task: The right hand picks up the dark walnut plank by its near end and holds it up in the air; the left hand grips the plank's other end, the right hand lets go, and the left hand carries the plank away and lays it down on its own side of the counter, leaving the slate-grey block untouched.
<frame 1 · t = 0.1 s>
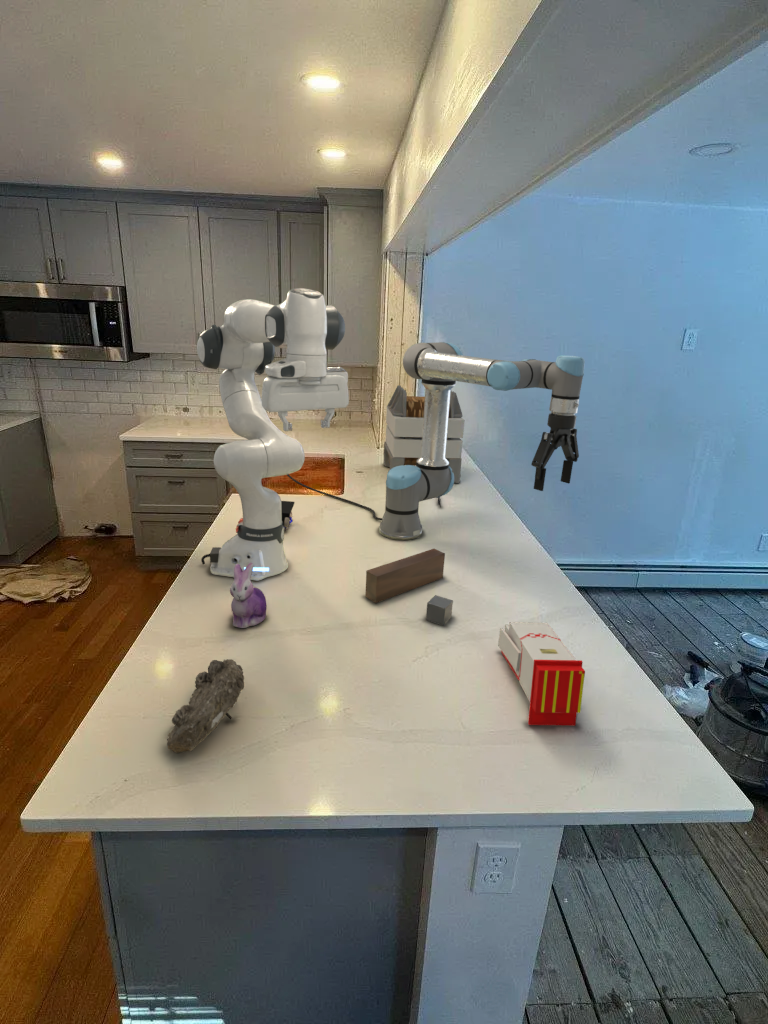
left hand: (306, 429, 130), 48 cm above the counter, fingers open, 8 cm apart
right hand: (552, 486, 166), 28 cm above the counter, fingers open, 13 cm apart
walnut plank: (405, 587, 162), on the counter
fossil: (212, 717, 108), on the counter
slate block: (438, 618, 146), on the counter
figurine character: (283, 526, 202), on the counter
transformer: (419, 473, 275), on the counter
toy: (532, 682, 122), on the counter
figurine: (249, 620, 142), on the counter
feather: (438, 497, 240), on the counter
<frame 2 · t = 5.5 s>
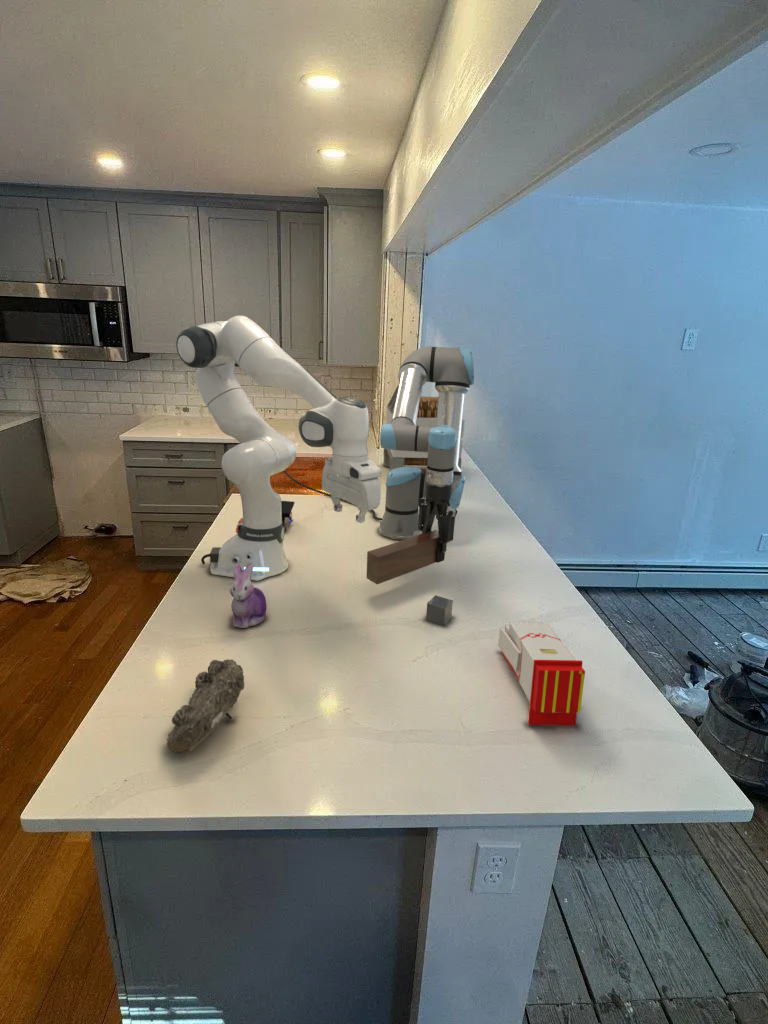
left hand: (348, 516, 145), 24 cm above the counter, fingers open, 8 cm apart
right hand: (433, 557, 167), 6 cm above the counter, fingers closed on walnut plank, 4 cm apart
walnut plank: (407, 568, 161), point 6 cm above the counter, touching right hand
everything else where it was.
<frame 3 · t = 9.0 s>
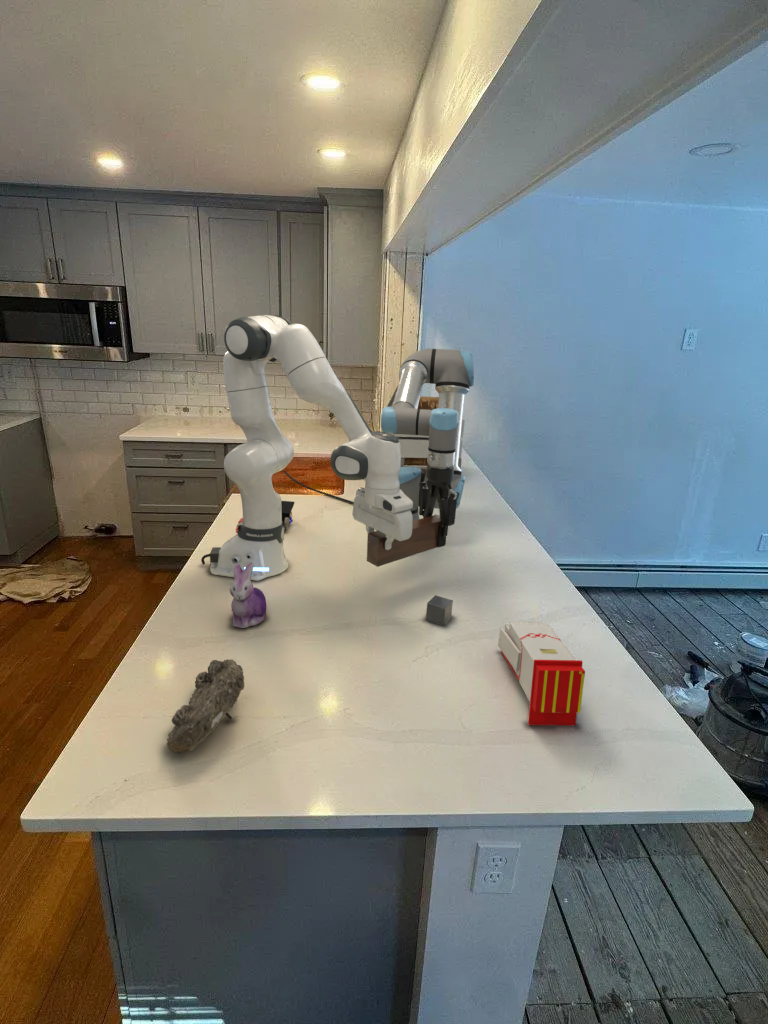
left hand: (379, 545, 150), 16 cm above the counter, fingers closed on walnut plank, 4 cm apart
right hand: (434, 542, 165), 11 cm above the counter, fingers closed on walnut plank, 4 cm apart
walnut plank: (407, 552, 158), point 11 cm above the counter, touching right hand, left hand
everything else where it was.
when the right hand's fingers open (11 cm above the counter, at t = 10.0 s): walnut plank stays where it is, held by the left hand.
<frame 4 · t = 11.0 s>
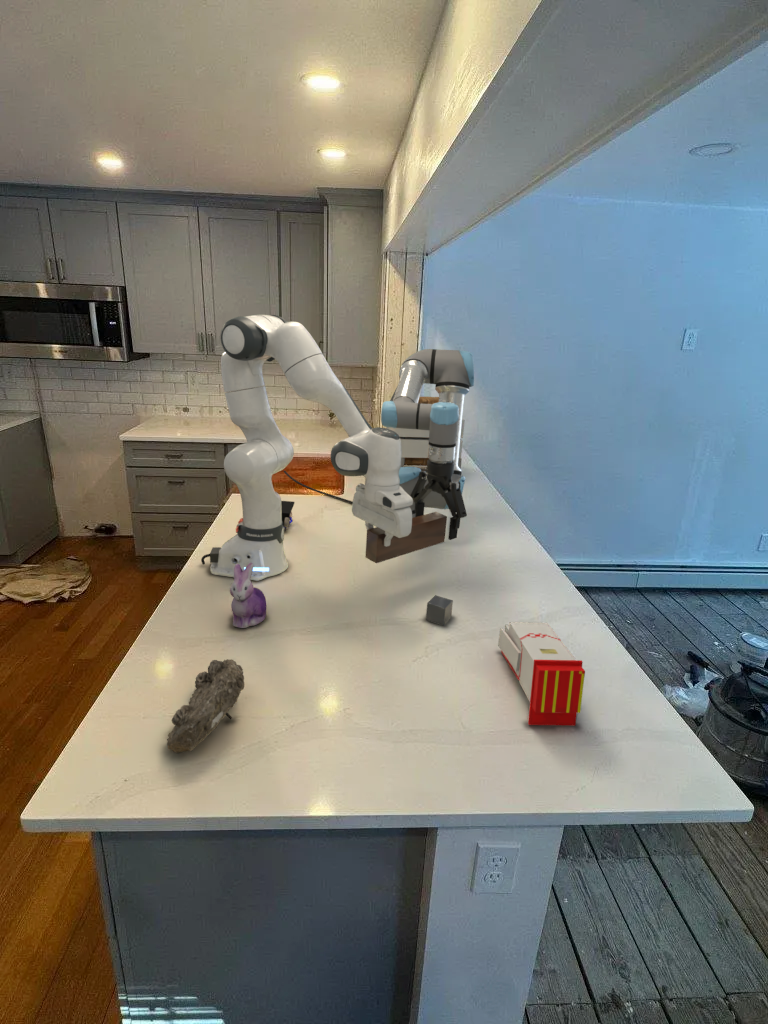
left hand: (378, 541, 150), 17 cm above the counter, fingers closed on walnut plank, 4 cm apart
right hand: (435, 531, 164), 15 cm above the counter, fingers open, 13 cm apart
walnut plank: (406, 549, 158), point 12 cm above the counter, touching left hand
everything else where it was.
when the left hand's fingers open (5 cm above the counter, at t = 17.2 s): walnut plank stays where it is, on the counter.
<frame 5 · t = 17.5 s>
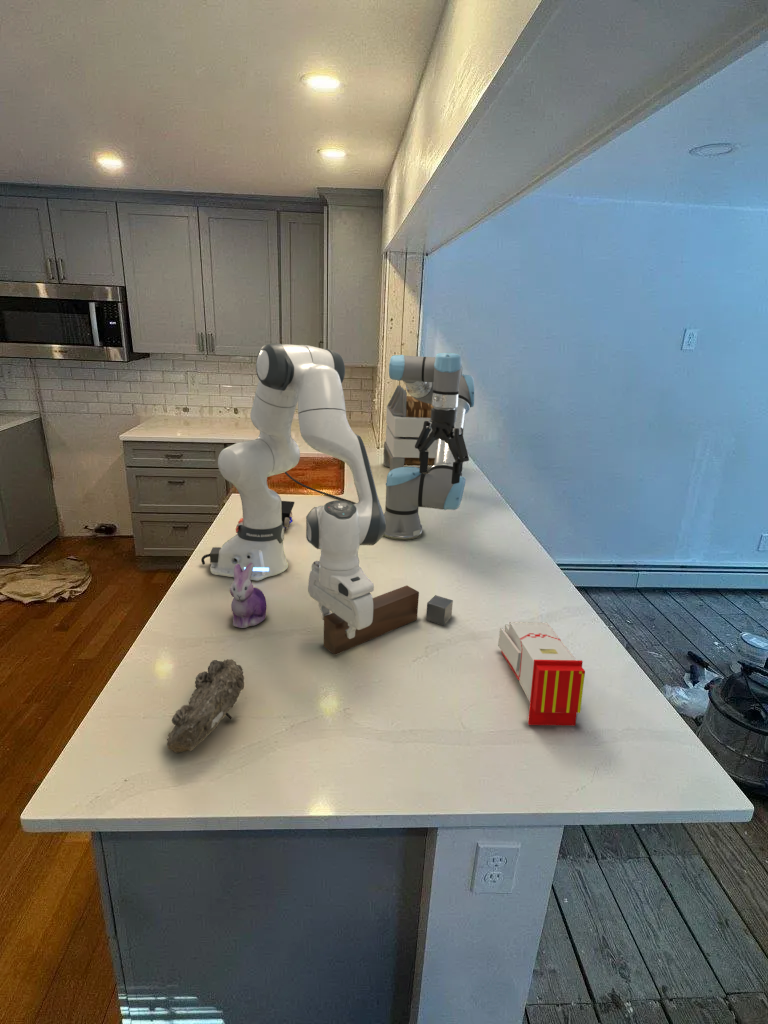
left hand: (338, 628, 130), 5 cm above the counter, fingers open, 8 cm apart
right hand: (438, 477, 173), 27 cm above the counter, fingers open, 13 cm apart
walnut plank: (372, 632, 139), on the counter
everything else where it was.
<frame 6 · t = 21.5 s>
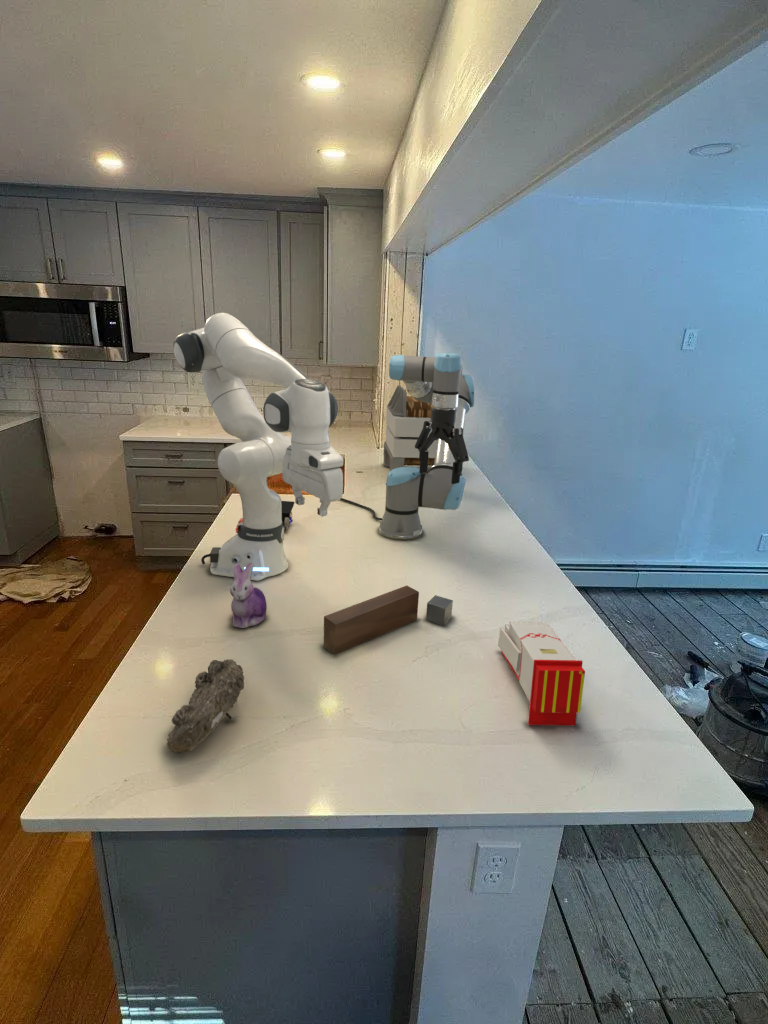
left hand: (310, 509, 134), 29 cm above the counter, fingers open, 8 cm apart
right hand: (438, 477, 173), 27 cm above the counter, fingers open, 13 cm apart
nothing on the counter moved.
at the end: walnut plank inside the target area (0.1 cm from its centre), on the counter; both hands held the walnut plank at the same time; the left hand is holding nothing; the right hand is holding nothing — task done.
